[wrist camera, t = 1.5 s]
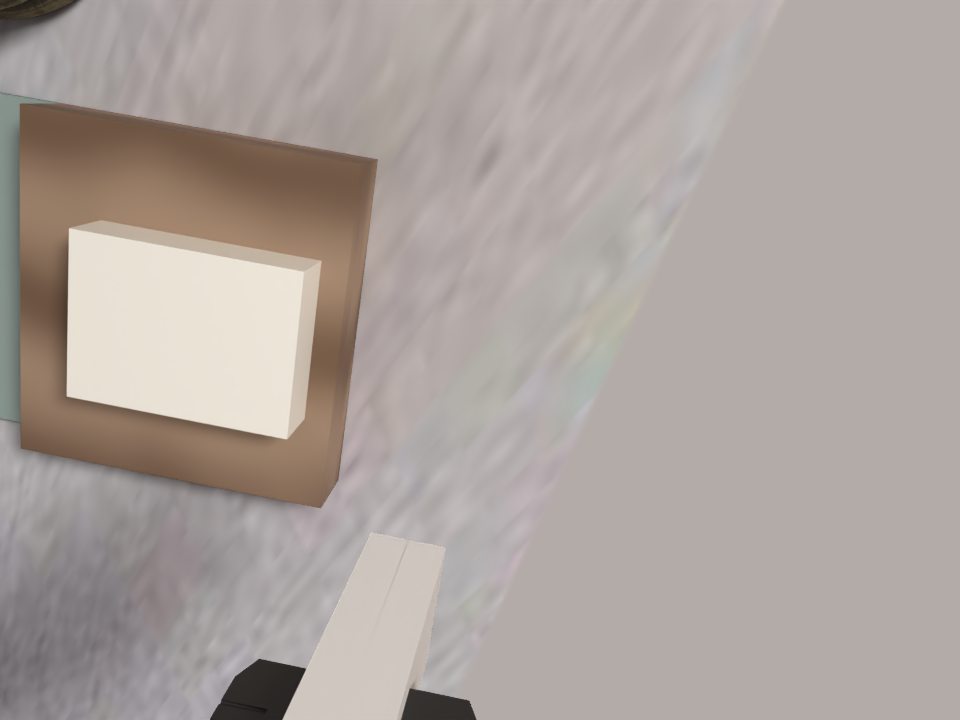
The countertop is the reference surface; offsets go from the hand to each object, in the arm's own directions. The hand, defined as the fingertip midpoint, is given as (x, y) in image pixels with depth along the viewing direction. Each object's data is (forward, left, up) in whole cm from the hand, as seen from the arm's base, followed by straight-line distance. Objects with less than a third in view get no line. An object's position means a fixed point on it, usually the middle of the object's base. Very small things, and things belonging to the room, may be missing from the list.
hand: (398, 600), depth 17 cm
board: (0, -11, -17) cm, 20 cm away
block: (0, -10, -14) cm, 17 cm away
